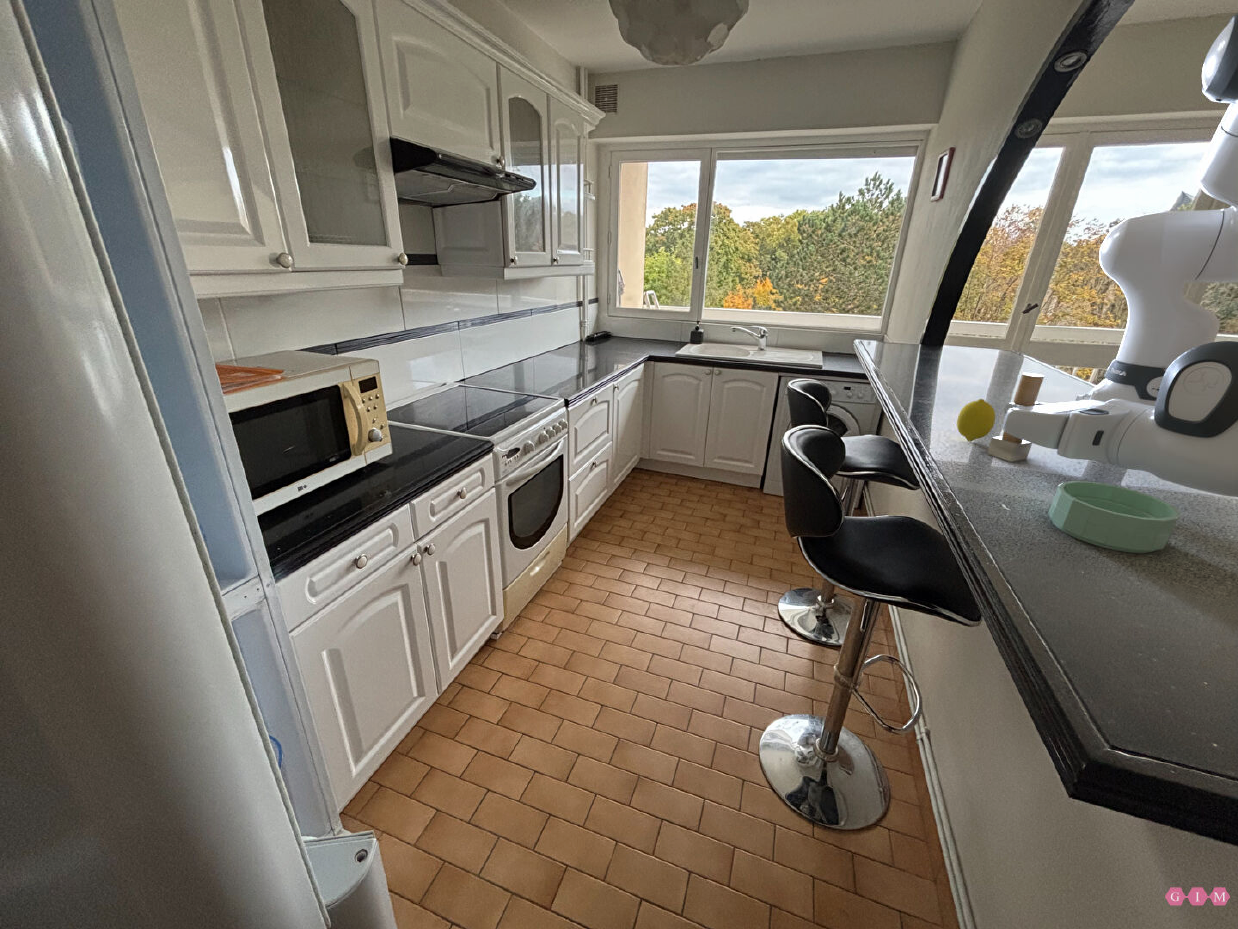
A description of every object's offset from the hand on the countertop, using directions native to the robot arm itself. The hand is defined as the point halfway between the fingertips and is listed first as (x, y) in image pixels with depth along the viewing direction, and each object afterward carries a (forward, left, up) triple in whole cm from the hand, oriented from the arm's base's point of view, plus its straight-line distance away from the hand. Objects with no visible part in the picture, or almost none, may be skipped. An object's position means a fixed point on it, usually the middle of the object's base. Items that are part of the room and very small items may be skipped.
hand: (1016, 406), depth 84 cm
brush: (+1, +1, -9) cm, 9 cm away
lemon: (-5, -4, -9) cm, 11 cm away
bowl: (+27, +8, -9) cm, 29 cm away
